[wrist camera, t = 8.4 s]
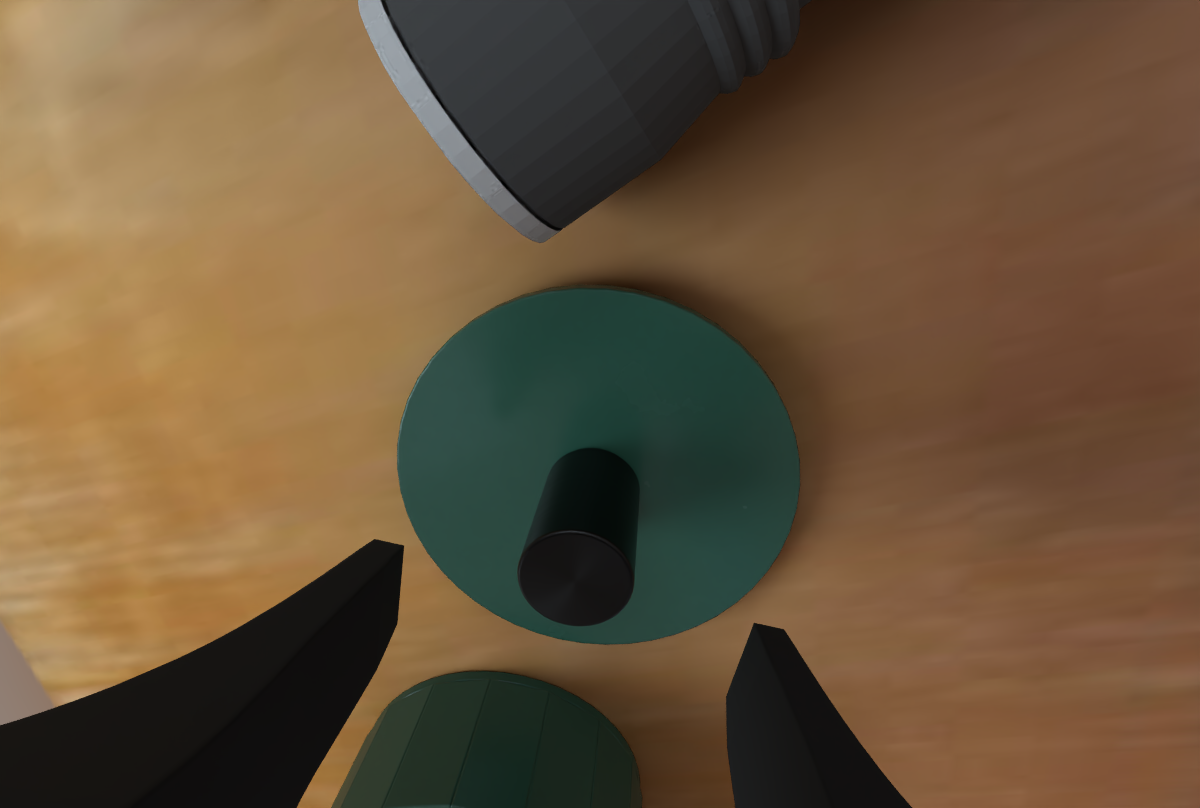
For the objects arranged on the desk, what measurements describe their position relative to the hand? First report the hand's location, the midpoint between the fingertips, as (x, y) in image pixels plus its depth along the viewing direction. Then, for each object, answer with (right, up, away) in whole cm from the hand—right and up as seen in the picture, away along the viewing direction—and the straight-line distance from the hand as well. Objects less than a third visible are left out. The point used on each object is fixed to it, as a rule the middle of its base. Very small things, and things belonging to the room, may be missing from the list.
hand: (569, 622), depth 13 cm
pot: (-3, -10, +11) cm, 15 cm away
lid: (0, +2, +5) cm, 6 cm away
